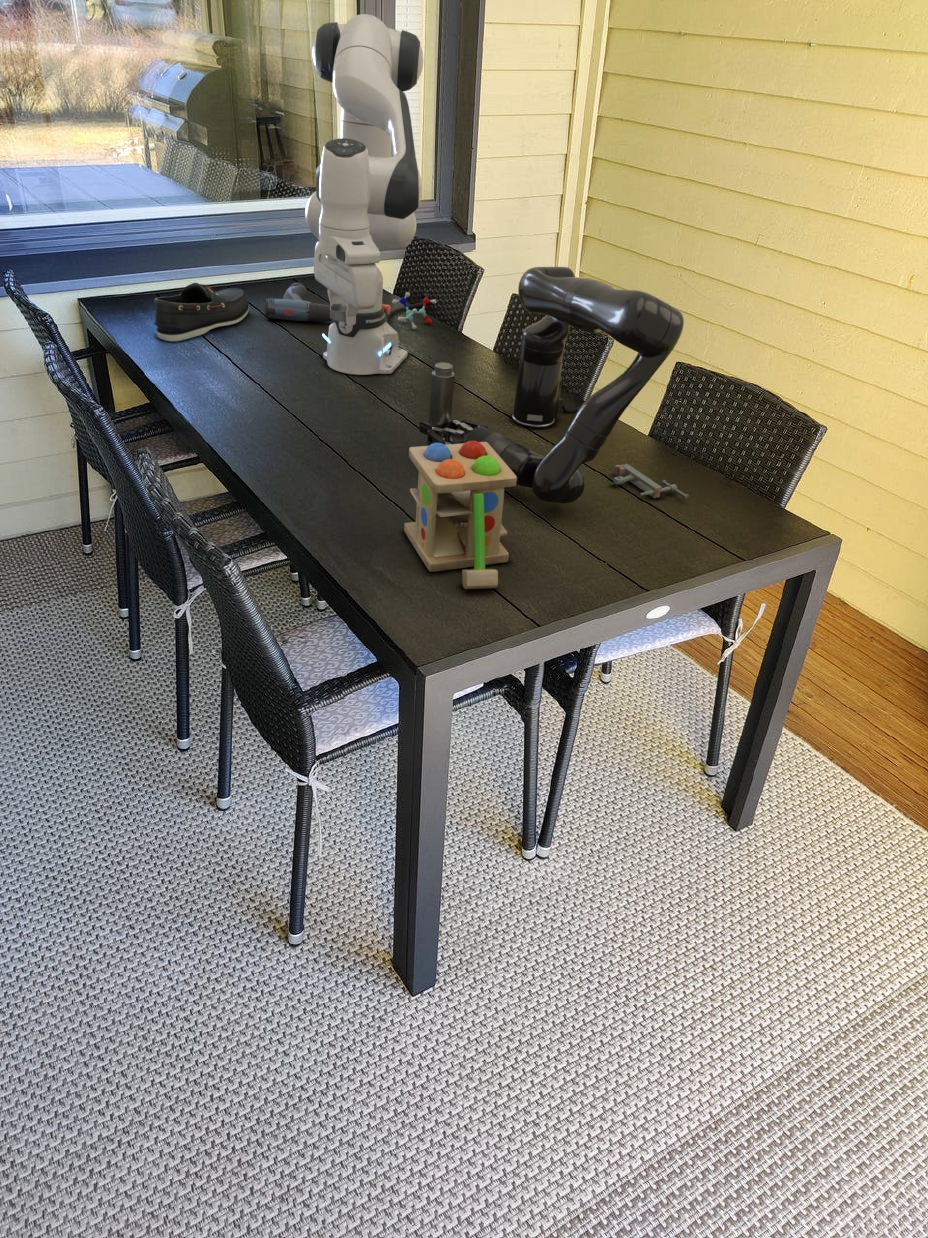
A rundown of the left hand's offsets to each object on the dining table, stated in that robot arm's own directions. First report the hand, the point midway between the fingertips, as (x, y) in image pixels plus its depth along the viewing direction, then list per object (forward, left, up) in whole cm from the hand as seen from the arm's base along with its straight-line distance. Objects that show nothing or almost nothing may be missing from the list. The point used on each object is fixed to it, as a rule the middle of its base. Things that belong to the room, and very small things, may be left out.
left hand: (343, 318), depth 182 cm
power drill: (-70, -53, -27) cm, 92 cm away
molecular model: (-80, -26, -27) cm, 88 cm away
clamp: (-19, +58, -27) cm, 67 cm away
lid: (0, 0, +2) cm, 2 cm away
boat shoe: (-45, -68, -27) cm, 86 cm away
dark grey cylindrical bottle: (-10, +17, -27) cm, 33 cm away
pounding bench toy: (+25, +39, -27) cm, 53 cm away
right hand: (-11, +14, -21) cm, 27 cm away
